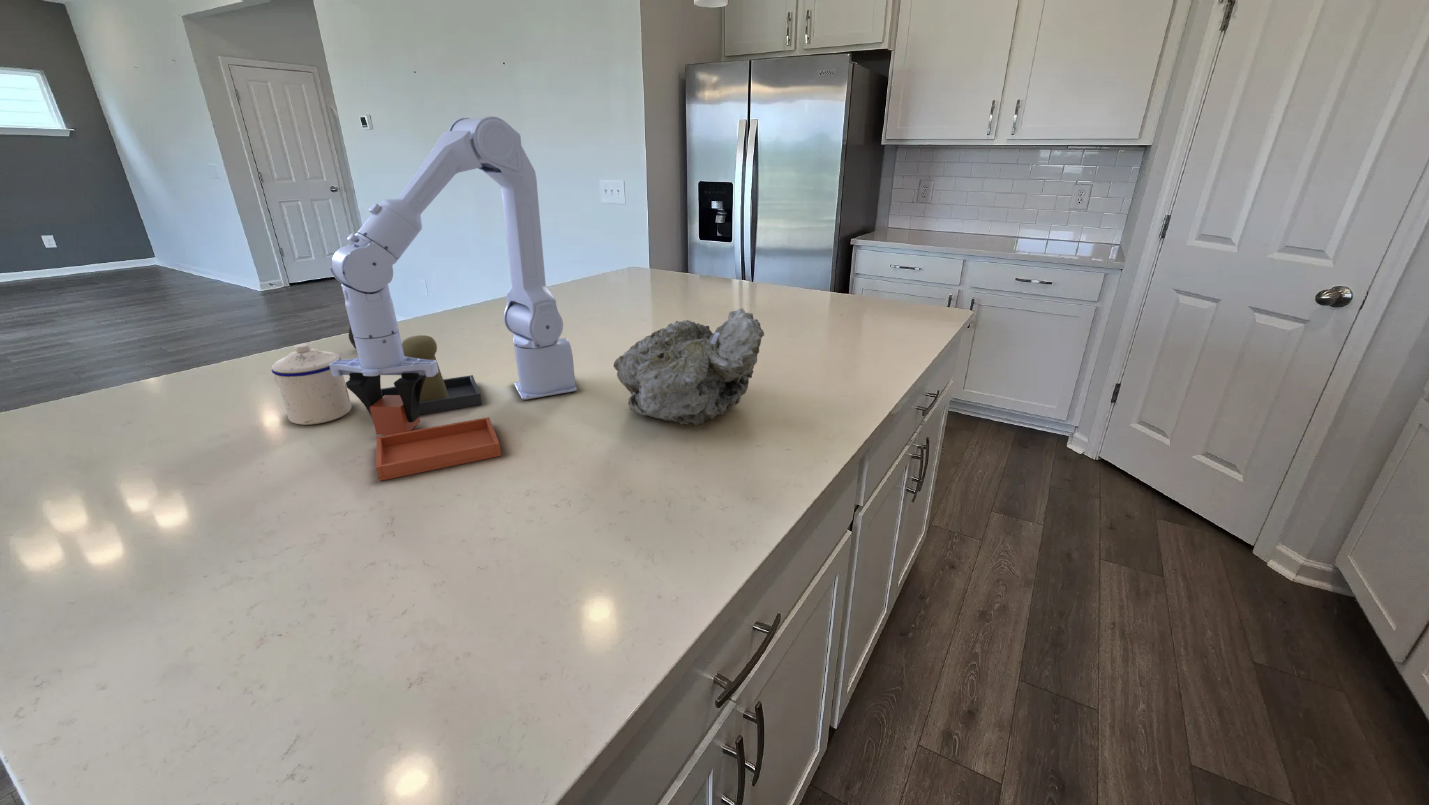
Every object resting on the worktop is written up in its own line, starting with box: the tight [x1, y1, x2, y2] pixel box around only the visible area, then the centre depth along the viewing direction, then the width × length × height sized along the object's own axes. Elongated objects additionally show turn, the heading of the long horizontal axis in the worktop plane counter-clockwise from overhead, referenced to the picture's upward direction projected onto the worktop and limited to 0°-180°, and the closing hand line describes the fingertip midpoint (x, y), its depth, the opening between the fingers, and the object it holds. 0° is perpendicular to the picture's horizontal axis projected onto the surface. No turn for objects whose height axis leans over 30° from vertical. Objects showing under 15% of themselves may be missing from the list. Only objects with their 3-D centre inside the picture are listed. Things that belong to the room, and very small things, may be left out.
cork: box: [401, 334, 449, 402], centre depth 97 cm, size 6×6×11 cm
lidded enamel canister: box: [271, 343, 352, 426], centre depth 92 cm, size 12×9×12 cm
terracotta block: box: [370, 395, 421, 436], centre depth 88 cm, size 4×4×4 cm
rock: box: [613, 308, 765, 426], centre depth 93 cm, size 24×17×25 cm
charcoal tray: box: [381, 374, 483, 416], centre depth 99 cm, size 15×10×2 cm, turn 118°
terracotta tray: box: [375, 416, 502, 482], centre depth 82 cm, size 15×10×2 cm, turn 118°
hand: (396, 419), depth 88 cm, fingers closed on terracotta block, 4 cm apart
